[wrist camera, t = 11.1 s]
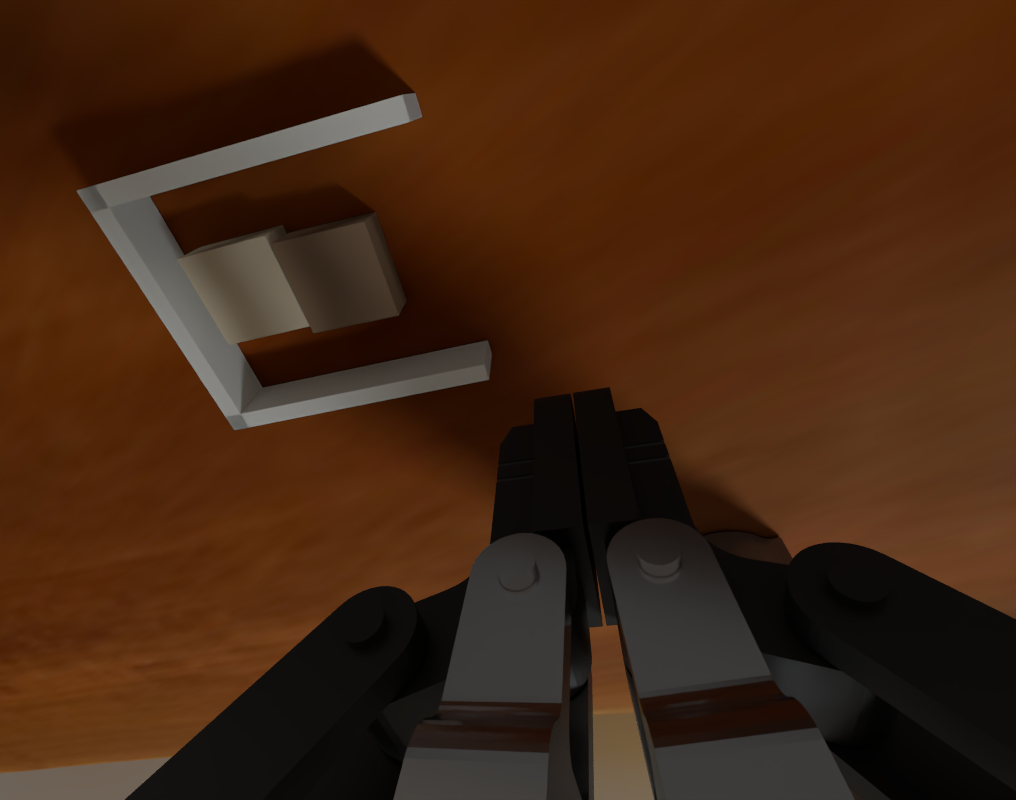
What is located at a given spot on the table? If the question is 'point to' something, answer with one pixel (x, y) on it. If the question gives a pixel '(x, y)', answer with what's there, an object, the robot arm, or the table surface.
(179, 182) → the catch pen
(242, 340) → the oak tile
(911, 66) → the table surface
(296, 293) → the beige flat square block
